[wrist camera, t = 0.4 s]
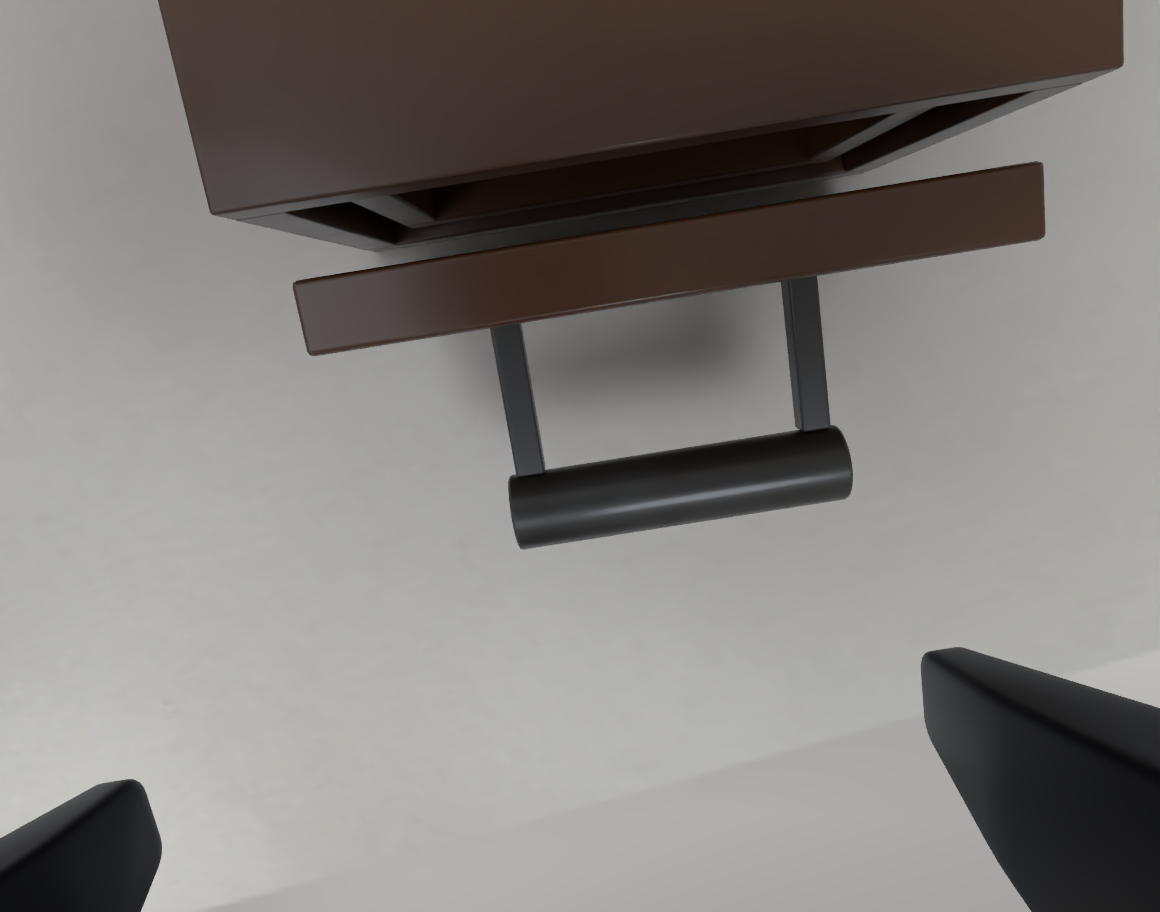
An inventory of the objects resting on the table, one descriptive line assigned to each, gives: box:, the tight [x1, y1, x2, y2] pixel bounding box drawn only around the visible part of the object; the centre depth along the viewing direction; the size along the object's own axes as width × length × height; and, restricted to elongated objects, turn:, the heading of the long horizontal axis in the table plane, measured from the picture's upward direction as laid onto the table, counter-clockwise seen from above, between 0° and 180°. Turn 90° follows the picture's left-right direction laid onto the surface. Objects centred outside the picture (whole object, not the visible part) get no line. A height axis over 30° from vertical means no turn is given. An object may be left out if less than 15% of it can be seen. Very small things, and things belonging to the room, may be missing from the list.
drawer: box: [293, 106, 1045, 549], centre depth 15 cm, size 18×12×8 cm, turn 9°
